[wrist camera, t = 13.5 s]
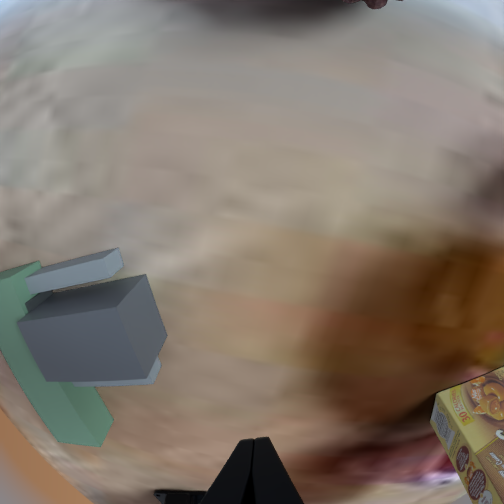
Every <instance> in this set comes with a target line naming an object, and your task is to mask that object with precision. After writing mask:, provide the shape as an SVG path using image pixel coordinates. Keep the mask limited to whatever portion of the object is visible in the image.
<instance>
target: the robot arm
mask: <svg viewBox="0 0 504 504" xmlns="http://www.w3.org/2000/svg"><path fill="white" fill-rule="evenodd" d="M154 495H155V497H156V498H157V499H158V500H159V501H160V502H161V503H162V504H304V503H303V501H302V499H301V497H300V495H299V494H298V492H297V490H296V488H295V486H294V484H293V483H292V481H291V479H290V477H289V475H288V473H287V471H286V469H285V468H284V466H283V464H282V462H281V460H280V458H279V456H278V454H277V452H276V450H275V448H274V446H273V444H272V442H271V440H270V438H269V437H260V438H256V439H255V440H254V439H243V440H240V441H239V443H238V444H237V446H236V448H235V449H234V451H233V452H232V454H231V456H230V457H229V459H228V460H227V462H226V464H225V465H224V467H223V468H222V470H221V471H220V473H219V474H218V476H217V478H216V479H215V481H214V482H213V484H212V485H211V487H210V488H209V490H208V491H207V492H175V491H155V492H154Z"/></svg>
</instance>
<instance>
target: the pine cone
mask: <svg viewBox="0 0 504 504" xmlns="http://www.w3.org/2000/svg"><path fill="white" fill-rule="evenodd" d="M342 1H344V2H346V3H348V4H350V3H355V2H358V1H360V0H342ZM362 1H364V2H365V3H366V4H367V6H368V7H369V8H371V9H379V8H382V7H383V6H385V5H386V3H387V0H362ZM398 1H403V0H398Z"/></svg>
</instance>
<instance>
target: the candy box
mask: <svg viewBox="0 0 504 504" xmlns="http://www.w3.org/2000/svg"><path fill="white" fill-rule="evenodd" d="M430 424H431V426H432V427H433V429H434V431H435V433H436V434H437V436H438V438H439V440H440V442H441V444H442V445H443V447H444V449H445V451H446V453H447V454H448V456H449V458H450V460H451V462H452V464H453V466H454V468H455V470H456V471H457V473H458V475H459V477H460V479H461V481H462V483H463V485H464V487H465V489H466V491H467V493H468V495H469V497H470V499H471V501H472V503H473V504H504V367H501V368H499V369H496V370H494V371H492V372H490V373H488V374H486V375H484V376H481V377H478V378H476V379H473V380H471V381H468V382H466V383H463V384H461V385H458V386H455V387H452V388H449V389H447V390H444V391H441V392H438V393H437V394H436V398H435V403H434V407H433V412H432V416H431V419H430Z"/></svg>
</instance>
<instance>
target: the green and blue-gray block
mask: <svg viewBox="0 0 504 504" xmlns="http://www.w3.org/2000/svg"><path fill="white" fill-rule="evenodd" d="M123 266H124V264H123V261H122V258H121V255H120V251H119V248H115V249H111V250H107V251H104V252H100V253H96V254H92V255H88V256H84V257H80V258H76V259H72V260H69V261H65V262H61V263H57V264H54V265H50V266H46V267H43V268H41V265H40V262H39V261H36V262H33V263H30V264H26V265H23V266H20V267H16V268H13V269H10V270H6V271H3V272H0V350H1V352H2V354H3V356H4V357H5V359H6V361H7V363H8V365H9V367H10V369H11V370H12V372H13V374H14V376H15V378H16V379H17V381H18V383H19V384H20V386H21V388H22V389H23V391H24V393H25V394H26V396H27V398H28V399H29V401H30V402H31V404H32V405H33V407H34V409H35V410H36V412H37V413H38V415H39V416H40V417H41V419H42V420H43V422H44V423H45V425H46V426H47V428H48V429H49V430H50V432H51V433H52V434H53V436H54V437H55V438H56V440H57V441H58V442H62V443H69V444H77V445H85V446H95V447H101V445H102V443H103V441H104V439H105V437H106V435H107V433H108V431H109V429H110V427H111V425H112V423H113V421H114V419H113V418H112V416H111V414H110V413H109V411H108V409H107V408H106V406H105V404H104V403H103V401H102V399H101V398H100V396H99V394H98V392H97V391H96V389H95V387H97V386H127V385H145V384H154V382H155V379H156V377H157V375H158V372H159V370H160V368H161V363H160V361H159V358H158V356H157V358H156V360H155V362H154V365H153V367H152V369H151V371H150V373H149V375H148V377H147V379H137V380H119V381H94V382H46V380H45V378H44V376H43V375H42V373H41V371H40V369H39V367H38V365H37V364H36V362H35V360H34V358H33V356H32V354H31V352H30V350H29V348H28V346H27V344H26V342H25V340H24V338H23V336H22V333H21V331H20V329H19V327H18V325H17V322H18V321H19V320H20V319H21V318H23V317H24V316H25V315H26V314H28V313H29V312H30V311H31V310H33V309H34V308H35V307H37V306H38V305H39V304H40V303H42V302H43V301H44V300H46V299H47V298H48V297H50V296H51V295H52V294H53V292H52V290H54V289H59V288H64V287H68V286H73V285H78V284H83V283H87V282H92V281H97V280H101V279H106V278H110V277H111V276H113V275H114V274H115V273H116V272H117V271H118V270H119V269H121V268H122V267H123Z"/></svg>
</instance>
